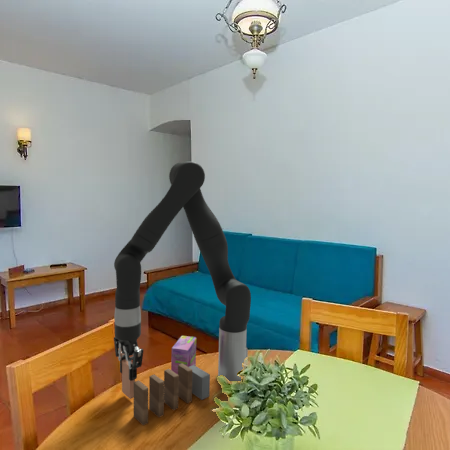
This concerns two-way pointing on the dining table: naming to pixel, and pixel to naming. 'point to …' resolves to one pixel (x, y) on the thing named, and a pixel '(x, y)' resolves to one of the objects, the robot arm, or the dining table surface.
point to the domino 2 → (156, 395)
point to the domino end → (127, 380)
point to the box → (183, 352)
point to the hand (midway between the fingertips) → (128, 375)
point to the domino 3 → (171, 388)
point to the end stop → (200, 382)
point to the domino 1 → (141, 402)
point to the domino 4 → (185, 383)
